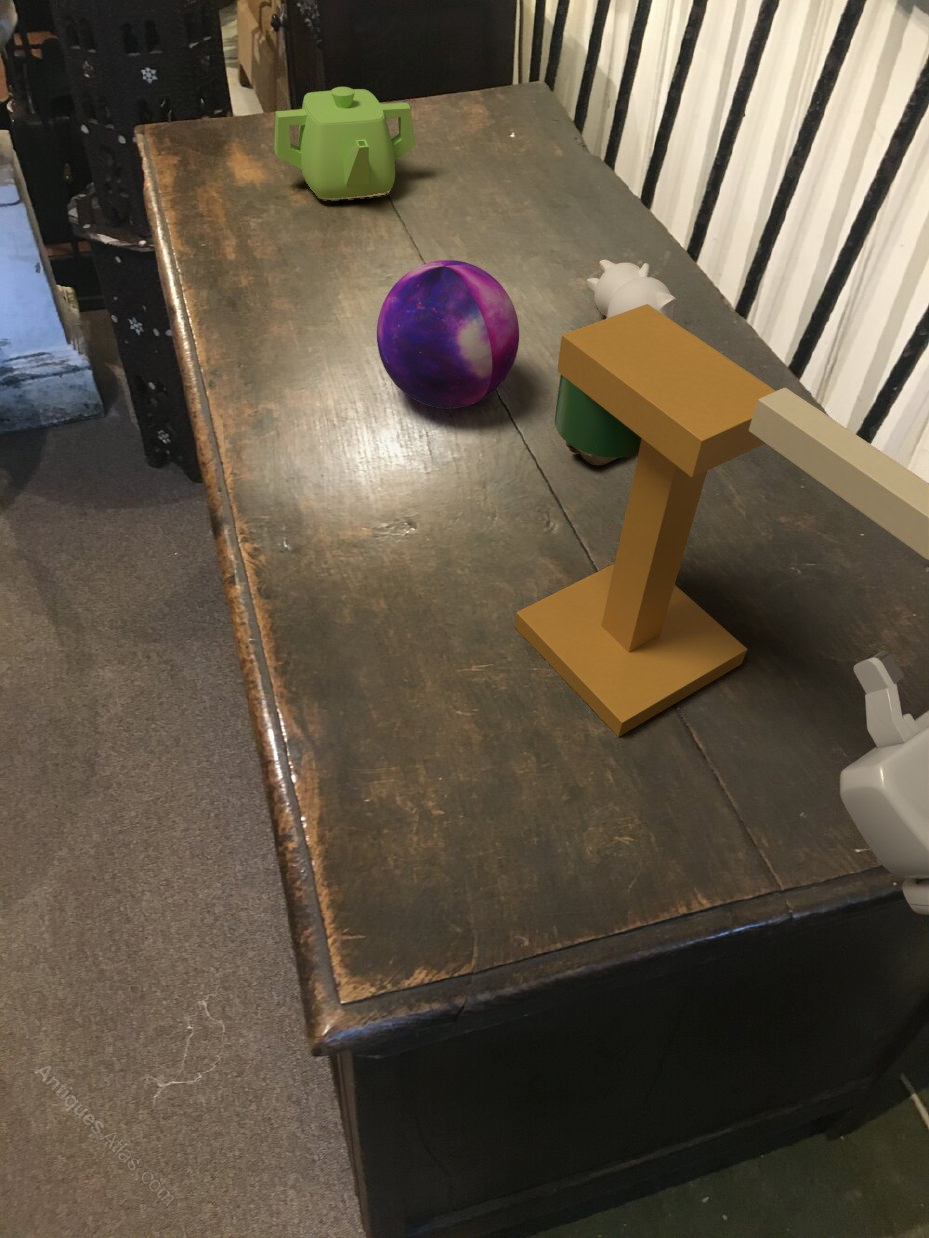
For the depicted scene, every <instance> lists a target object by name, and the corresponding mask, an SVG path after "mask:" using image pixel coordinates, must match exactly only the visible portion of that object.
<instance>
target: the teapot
mask: <svg viewBox="0 0 929 1238" xmlns="http://www.w3.org/2000/svg"><path fill="white" fill-rule="evenodd" d="M303 96H304V97H303V100H302V104H301V105H302V106H301V108H300V109H289V110H287V109H286V110H276V111H275V113H274V114H275V116H274V117H275V118H274V141H273V143H274V144H273V145H274V146H273V151H274V154H275V155H276V157H277V159H278V158H279V159H281V160H282V161H284V162H286V163H288V164H290V165H292V166H294V167H296V168H297V169H300V172H301V174H302V177H303V179H304V181H305V183H306V185H307V184H308V185H307V187H308V186H309V187H310V188H309V187H308V188H309V190H310V189H311V190H312V191H313V192H314V193H315V194H316V195H317V196H320V197H323V198H342V197H343V198H346V197H357V196H367V195H373V194H378V193H384V192H387V191H389V190H391V191H392V189H393V187H394V184H395V180H396V164H395V161H397V160H399V159H400V158H401V157H402V156H405V155H406V154H407V153H408V152H409V151H411V150H412V149H414V148H415V147H416V138H415V131H414V123H413V116H412V108H411V107H410V104H409V102H391V103H380V101H379V100H378V99H377V98H376V96H375V95H374V94H373V93H372V92H371V91H369V90H367V89H365V88H356V89H355V88H354V89H353V88H351V87H348V86H337V87H333V88H332V89H331V90H324V91H323V90H321V91H311V92H307V93H306V94H305V95H303ZM391 119H397V123H398V134H396V135H395V136H394V137H391V133H390V130H389V126H388V123H387V120H391ZM290 126H298V141H297V142H298V144H297V145H294V144H292V143H291V131H290ZM391 188H392V189H391ZM311 190H310V191H311ZM312 191H311V192H312ZM313 192H312V193H313ZM388 195H389V194H387V195H384V196H385V197H386V196H388ZM384 196H383V197H384ZM379 197H381V196H377V197H376V198H379ZM316 198H317V199H319V198H318V197H316ZM371 198H373V197H369V198H368V199H371ZM361 199H364V198H360V199H359V200H361ZM351 200H353V199H348V200H347V201H351ZM323 201H325V202H328V201H327V200H323ZM336 201H338V200H331V201H330V202H336Z"/></svg>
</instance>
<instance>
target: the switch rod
mask: <svg viewBox="0 0 929 1238" xmlns="http://www.w3.org/2000/svg"><path fill="white" fill-rule="evenodd" d="M775 391H776V392H773V393H771V394H769V395H767V396H764V397H762V398H760V399H758V402H757V405H756V408H755V411H754V415H753V418H752V421H751V424H750V427H749V432H751V433H752V434H753V435H755V436H756V437H758V438H759V439H760V440H762V441H763V442H764V443H765V445H767V446H769V447H770V448H771V449H772V450H774V451H776V452H777V453H778V454H780V455H781V456H782V457H783V458H785V459H787V460H788V461H789V462H791V463H792V464H793V465H795V466H796V467H797V468H799V469H800V470H802V471H803V472H804V473H806V474H807V475H809V476H810V477H812V478H813V479H814V480H816V481H817V482H819V483H820V484H821V485H822V486H824V487H825V488H827V489H828V490H829V491H831V492H832V493H834V494H835V495H836V496H837V497H839V498H841V499H842V500H843V501H844V502H846V503H848V504H849V505H851V506H852V507H853V508H855V509H856V510H857V511H858V512H859V513H861V514H863V515H864V516H865V517H866V518H868V519H870V520H871V521H873V523H875V524H877V525H878V526H880V527H881V528H882V529H884V530H885V531H886V532H887V533H889V534H891V535H892V536H893V537H895V538H896V539H897V540H899V541H900V542H902V543H903V544H905V546H907V547H908V548H910V549H911V550H913V551H914V552H916V554H918V555H920V556H921V557H922V558H924V559H925V560H926V561H929V482H927V481H926V480H925V479H923V478H922V477H920V476H919V475H917V474H916V473H915V472H912V470H909V468H907V467H905V466H904V465H903V464H901V463H899V462H897V461H896V460H895V459H893V458H892V457H890V456H889V455H887V454H886V453H884V452H883V451H882V450H880V449H878V448H876V446H874V445H872V444H871V443H869V442H868V441H866V440H865V439H863V438H862V437H861V436H859V435H857V434H856V433H855V432H853V431H851V430H850V429H848V428H847V427H845V426H844V425H842V424H841V423H840V422H838V421H837V420H835V419H833V418H832V417H831V416H829V415H828V414H826V413H824V412H823V411H821V410H820V409H818V408H817V407H816V406H814V405H812V404H811V403H810V402H808V401H806V400H805V399H803V397H801V396H799V395H797V394H796V393H794V392H793V391H792V390H790V389H789V388H788V387H783V388H780V389H778V390H775Z"/></svg>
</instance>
